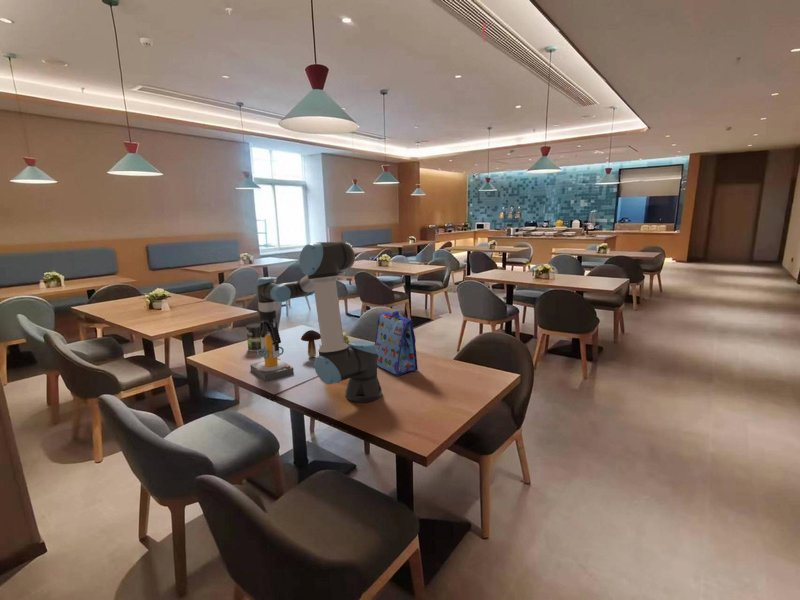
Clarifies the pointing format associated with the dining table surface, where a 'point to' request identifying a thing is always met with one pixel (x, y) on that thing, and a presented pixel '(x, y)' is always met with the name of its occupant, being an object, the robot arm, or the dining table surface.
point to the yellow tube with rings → (269, 352)
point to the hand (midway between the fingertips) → (270, 353)
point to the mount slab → (271, 370)
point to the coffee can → (254, 337)
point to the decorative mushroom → (311, 341)
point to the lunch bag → (395, 344)
